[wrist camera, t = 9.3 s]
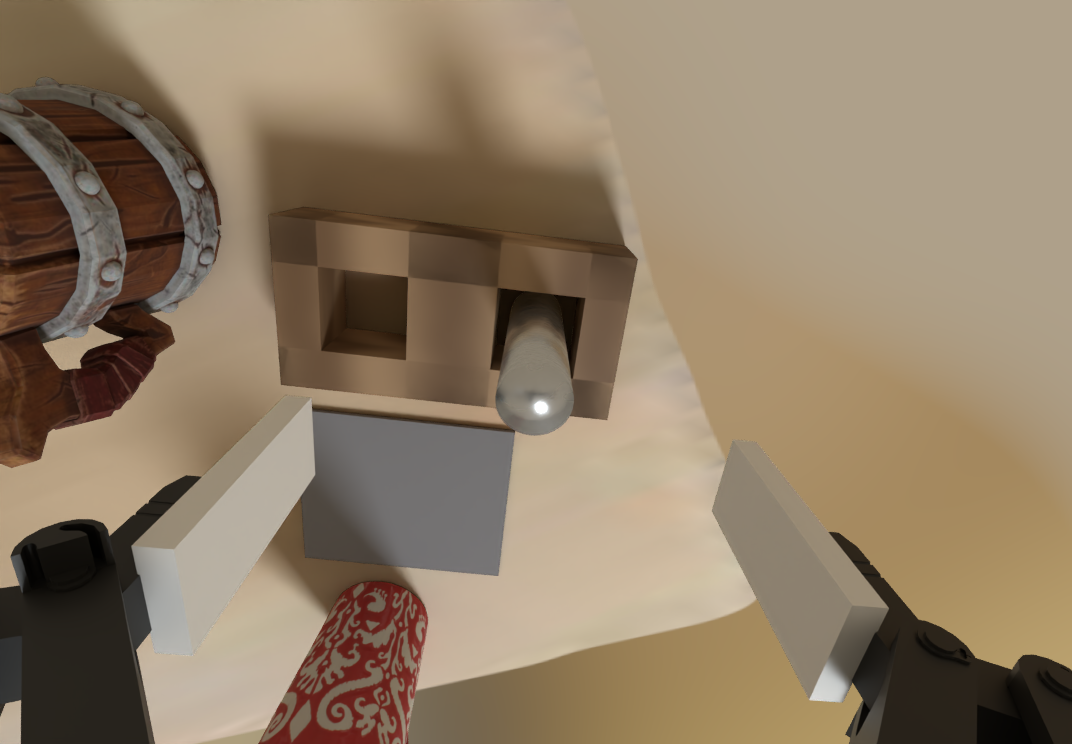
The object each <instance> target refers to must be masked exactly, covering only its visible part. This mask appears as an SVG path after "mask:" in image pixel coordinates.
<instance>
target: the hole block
mask: <svg viewBox="0 0 1072 744" xmlns="http://www.w3.org/2000/svg"><path fill="white" fill-rule="evenodd" d="M268 218H269V231H270V244H271V258H272V271H273V284H274V297H275V311H276V324H277V337H278V350H279V364H280V377H281V385H287V386H296V387H306V388H315V389H324V390H333V391H343V392H352V393H361V394H370V395H380V396H389V397H398V398H407V399H417V400H426V401H435V402H445V403H454V404H463V405H472V406H482V407H491V408H496V403H495V396H496V390H497V385H498V379H499V374H500V368H501V363H502V357H503V352H504V346H502V345H496V338H497V327H498V316H499V305H500V295H501V288H504V289H513V290H521V291H530V292H538V293H547V294H555V295H564V296H572V297H578V298H577V304H576V311H575V318H574V324H573V331H572V338H571V344H570V351H569V353H567V354H568V361H569V368H570V375H571V381H572V388H573V395H574V404H573V409H572V412H571V414H570V416H574V417H583V418H593V419H602V420H607V418H608V413H609V408H610V402H611V397H612V392H613V386H614V381H615V376H616V371H617V365H618V360H619V355H620V350H621V344H622V339H623V334H624V329H625V323H626V318H627V313H628V308H629V302H630V297H631V292H632V287H633V281H634V276H635V271H636V266H637V260H638V259H637V258H636V257H635V256H634V255H633V253H632V252H631V251H630V250H629V249H628V248H627V247H626V246H621V245H613V244H605V243H596V242H588V241H580V240H571V239H563V238H555V237H547V236H538V235H530V234H522V233H514V232H505V231H497V230H489V229H481V228H472V227H464V226H456V225H447V224H439V223H431V222H423V221H414V220H406V219H398V218H390V217H381V216H373V215H365V214H356V213H348V212H340V211H332V210H323V209H315V208H307V207H301V208H296V209H292V210H287V211H283V212H278V213H274V214H269V215H268ZM345 270H350V271H358V272H367V273H375V274H384V275H393V276H401V277H408V301H407V335H404V334H395V333H386V332H377V331H369V330H360V329H351V328H347V317H346V272H345Z"/></svg>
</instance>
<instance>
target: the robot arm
mask: <svg viewBox="0 0 1072 744" xmlns="http://www.w3.org/2000/svg"><path fill="white" fill-rule="evenodd" d="M314 476H315V460H314V439H313V419H312V399H311V398H309V397H299V396H289V395H285V396H284V397H283V398H282V399H281V400H280V401H279V402H278V403H277V404H276V405H275V406H274V407H273V408H272V409H271V410H270V411H269V412H268V413H267V414H266V415H265V416H264V417H263V418H262V419H261V420H260V421H259V422H258V423H257V424H256V425H255V426H254V427H253V428H252V429H251V430H250V431H248V432H247V433H246V434H245V435H244V436H243V437H242V438H241V439H240V440H239V441H238V442H237V443H236V444H235V445H234V446H233V447H232V448H231V449H230V450H229V451H228V452H227V453H226V454H225V455H224V456H223V457H222V458H221V459H220V460H219V461H218V462H217V463H216V464H215V465H214V466H213V467H212V468H211V469H210V470H209V471H208V472H207V473H206V474H204V475H203V476H202V477H198V476H187V475H186V476H184V477H182V478H180V479H178V480H176V481H175V482H173V483H171V484H169V485H167V486H165V487H164V488H162V489H161V490H160V491H159V492H158V493H157V494H156V495H155V496H154V497H152V498H151V499H150V500H149V503H148V504H145V505H144V506H143V507H141V508H140V509H139V510H138V511H137V512H136V515H133V516H131V517H130V518H129V519H128V520H127V521H126V522H125V523H124V524H123V525H121V526H120V527H119V528H118V529H117V530H116V531H115V532H114V533H113V534H112V535H110V536H109V533H108V529H107V528H106V527H105V525H104V524H103V523H101V522H98V521H95V520H92V519H76V520H71V521H65V522H60V523H57V524H54V525H51V526H48V527H45V528H42V529H40V530H38V531H37V532H35V533H33V534H31V535H29V536H27V537H26V538H24V539H23V540H22V541H21V542H20V543H19V544H18V545H17V546H15V548H14V550H13V552H12V554H11V560H12V563H13V566H14V569H15V572H16V575H17V578H18V581H19V584H20V586H14V587H6V588H0V716H1V713H2V711H3V708H4V706H5V703H9V702H14V701H19V700H21V744H155V742H154V737H153V732H152V726H151V721H150V716H149V711H148V706H147V701H146V696H145V691H144V686H143V681H142V675H141V670H140V665H139V660H138V656H137V652H136V649H137V648H138V647H139V646H140V644H141V643H142V642H143V641H144V639H145V638H146V637H147V636H148V634H149V633H150V634H151V638H152V643H153V648H154V652H155V653H161V654H175V655H189V656H193V655H194V654H195V652H196V651H197V649H198V648H199V646H200V645H201V643H202V642H203V640H204V639H205V637H206V636H207V635H208V633H209V632H210V630H211V629H212V627H213V626H214V624H215V623H216V621H217V620H218V618H219V617H220V615H221V614H222V612H223V611H224V609H225V608H226V606H227V605H228V603H229V602H230V600H231V599H232V597H233V596H234V594H235V593H236V592H237V590H238V589H239V587H240V586H241V584H242V583H243V581H244V580H245V578H246V577H247V575H248V574H249V572H250V571H251V569H252V568H253V566H254V565H255V563H256V562H257V560H258V559H259V557H260V556H261V554H262V553H263V551H264V550H265V549H266V547H267V546H268V544H269V543H270V541H271V540H272V538H273V537H274V535H275V534H276V532H277V531H278V529H279V528H280V526H281V525H282V523H283V522H284V520H285V519H286V517H287V516H288V514H289V513H290V511H291V510H292V508H293V507H294V505H295V504H296V503H297V501H298V500H299V498H300V497H301V495H302V494H303V492H304V491H305V489H306V488H307V486H308V485H309V483H310V482H311V480H312V479H313V477H314ZM712 512H713V514H714V516H715V518H716V520H717V522H718V524H719V526H720V528H721V530H722V532H723V534H724V535H725V537H726V539H727V541H728V543H729V545H730V547H731V549H732V551H733V553H734V555H735V557H736V559H737V561H738V563H739V565H740V567H741V568H742V570H743V572H744V574H745V576H746V578H747V580H748V582H749V584H750V586H751V588H752V590H753V592H754V594H755V596H756V598H757V600H758V601H759V603H760V605H761V607H762V609H763V611H764V613H765V615H766V617H767V619H768V621H769V623H770V625H771V627H772V628H773V631H774V632H775V634H776V636H777V638H778V640H779V642H780V644H781V646H782V648H783V650H784V652H785V654H786V656H787V658H788V660H789V662H790V664H791V666H792V668H793V669H794V671H795V673H796V675H797V677H798V679H799V681H800V683H801V685H802V687H803V689H804V691H805V693H806V695H807V697H808V698H809V700H817V701H831V702H843V701H844V699H845V696H846V695H847V692H848V691H849V689H850V686H851V685H852V683H853V684H854V685H855V687H856V689H857V690H858V692H859V693H860V695H861V697H862V698H863V701H862V703H861V705H860V707H859V709H858V711H857V713H856V714H855V716H854V718H853V720H852V723H851V724H850V727H849V728H848V730H847V732H846V735H847V736H849V737H850V742H849V744H1072V671H1071V670H1070V669H1069V668H1067V667H1066V666H1064V665H1062V664H1059V663H1057V662H1054V661H1052V660H1050V659H1048V658H1044V657H1040V656H1037V655H1023V656H1022V657H1021V658H1020V659H1019V660H1018V662H1017V663H1016V664H1015V666H1014V667H1013V669H1012V670H1011V669H1008V668H1005V667H1002V666H999V665H996V664H992V663H989V662H986V661H983V660H980V659H977V658H975V656H974V655H973V654H972V652H971V651H970V650H969V648H968V647H967V646H966V645H965V644H964V643H963V642H961V641H960V640H959V639H958V638H957V637H956V636H954V635H953V634H951V633H950V632H948V631H946V630H945V629H943V628H941V627H939V626H937V625H934V624H932V623H929V622H927V621H922V620H918V619H917V617H916V616H915V615H914V614H913V613H912V611H911V610H910V609H909V608H908V607H907V606H906V604H905V603H904V602H903V601H902V600H901V598H900V597H899V596H898V595H897V594H896V592H895V591H894V590H893V589H892V588H891V586H890V585H889V584H888V583H887V582H886V581H885V579H884V578H881V576H880V573H879V572H878V571H877V570H876V569H875V567H874V566H873V565H870V561H869V560H868V559H867V558H866V557H865V556H864V554H863V553H862V552H861V551H860V550H859V548H858V547H857V546H855V545H854V544H853V543H851V542H850V541H849V540H847V539H846V538H845V537H843V536H842V535H841V534H839V533H836V532H828V531H827V530H826V529H825V527H824V526H823V525H822V524H821V522H820V521H819V520H818V518H817V517H816V516H815V515H814V513H813V512H812V511H811V510H810V509H809V507H808V506H807V505H806V503H805V502H804V501H803V500H802V498H801V497H800V496H799V495H798V493H797V492H796V491H795V490H794V488H793V487H792V486H791V485H790V483H789V482H788V481H787V480H786V478H785V477H784V476H783V475H782V473H781V472H780V471H779V470H778V468H777V467H776V466H775V465H774V463H773V462H772V461H771V460H770V458H769V457H768V456H767V455H766V453H765V452H764V451H763V449H762V448H761V447H760V446H759V444H758V443H757V442H753V441H743V440H733V441H732V445H731V448H730V451H729V454H728V458H727V461H726V465H725V468H724V471H723V475H722V478H721V482H720V485H719V488H718V492H717V495H716V498H715V502H714V505H713V509H712Z"/></svg>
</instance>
